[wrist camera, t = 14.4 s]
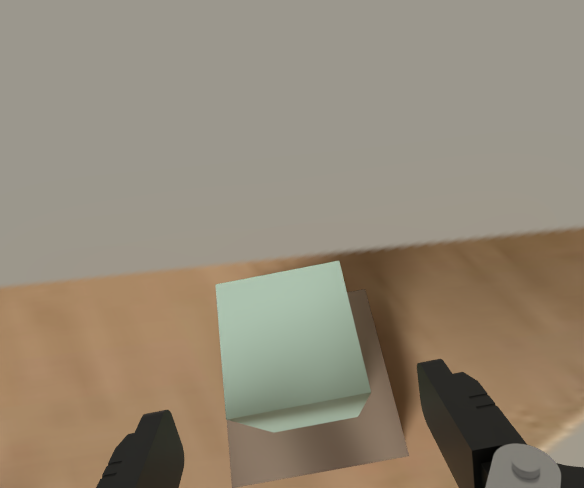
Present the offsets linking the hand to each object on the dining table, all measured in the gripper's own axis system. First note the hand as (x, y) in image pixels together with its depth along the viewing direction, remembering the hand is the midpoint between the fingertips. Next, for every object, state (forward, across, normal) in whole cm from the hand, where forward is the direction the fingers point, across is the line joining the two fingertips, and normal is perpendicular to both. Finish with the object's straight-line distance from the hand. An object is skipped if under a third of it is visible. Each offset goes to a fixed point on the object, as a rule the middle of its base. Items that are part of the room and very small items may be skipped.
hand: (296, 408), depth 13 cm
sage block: (+8, 0, +5) cm, 10 cm away
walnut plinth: (+11, 0, +8) cm, 14 cm away
